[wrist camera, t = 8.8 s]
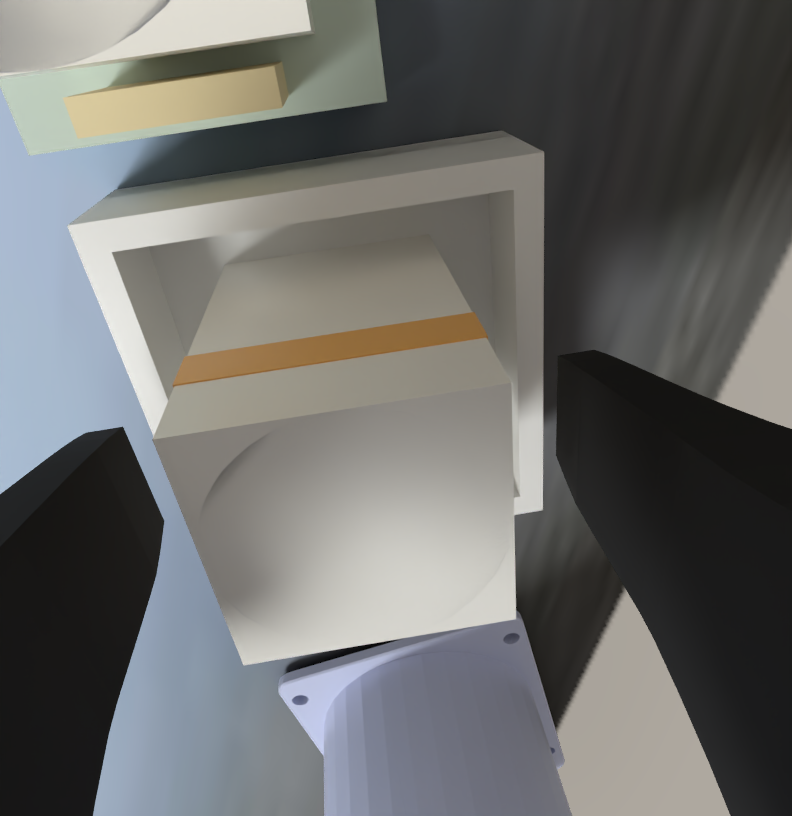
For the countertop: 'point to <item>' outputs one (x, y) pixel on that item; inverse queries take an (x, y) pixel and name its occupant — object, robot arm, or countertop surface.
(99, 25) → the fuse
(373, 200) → the tray
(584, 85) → the countertop surface
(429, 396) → the block
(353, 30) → the fuse block
